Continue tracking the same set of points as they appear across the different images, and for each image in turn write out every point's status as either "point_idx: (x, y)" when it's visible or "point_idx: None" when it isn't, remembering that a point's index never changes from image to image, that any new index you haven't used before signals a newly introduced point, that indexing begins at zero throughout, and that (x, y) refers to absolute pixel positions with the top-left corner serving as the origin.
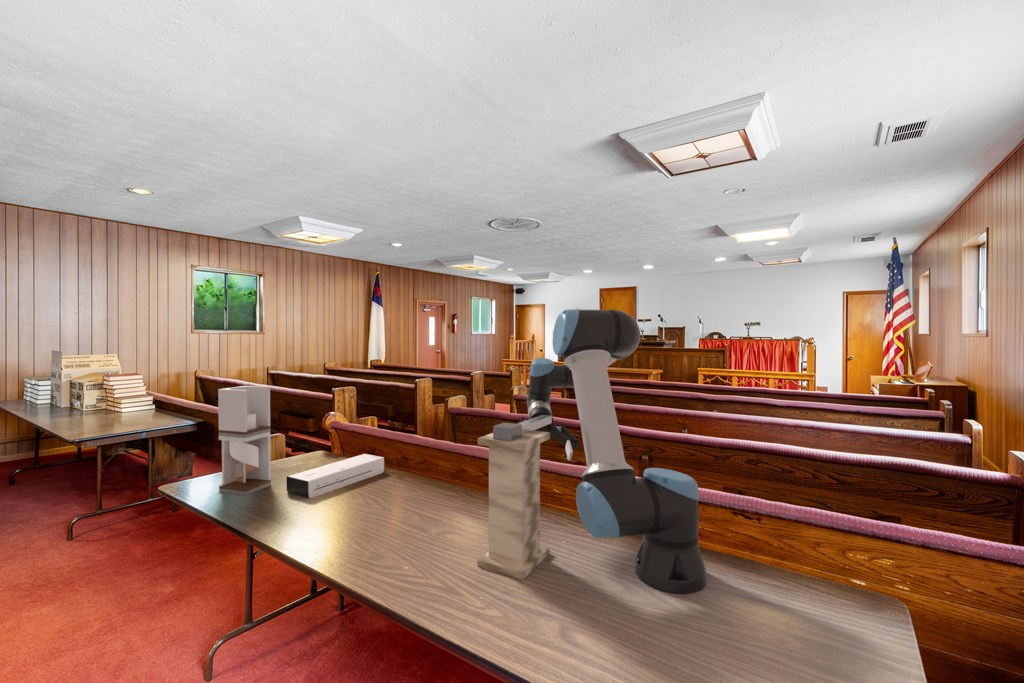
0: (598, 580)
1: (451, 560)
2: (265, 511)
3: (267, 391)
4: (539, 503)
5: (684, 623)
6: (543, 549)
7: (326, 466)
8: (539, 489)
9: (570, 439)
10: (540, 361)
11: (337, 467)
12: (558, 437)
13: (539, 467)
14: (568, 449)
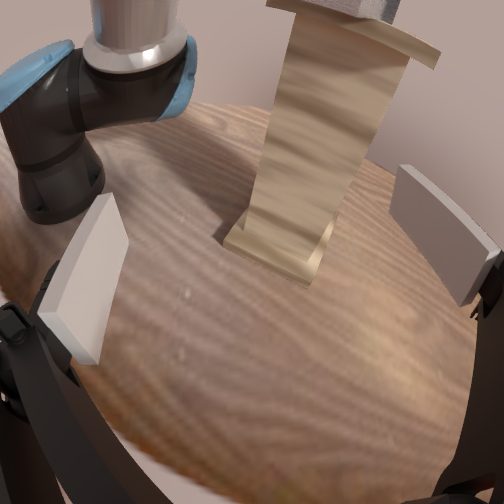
0: (160, 179)
1: (374, 236)
2: None
3: None
4: (260, 159)
5: (109, 130)
6: (235, 233)
7: None
8: (267, 130)
9: (25, 315)
10: None
11: None
12: (125, 463)
13: (280, 79)
14: (101, 240)
